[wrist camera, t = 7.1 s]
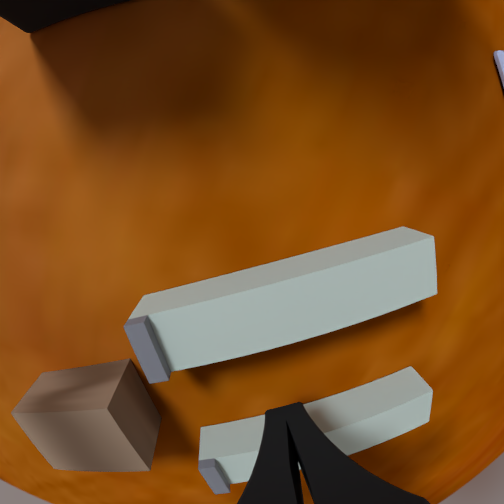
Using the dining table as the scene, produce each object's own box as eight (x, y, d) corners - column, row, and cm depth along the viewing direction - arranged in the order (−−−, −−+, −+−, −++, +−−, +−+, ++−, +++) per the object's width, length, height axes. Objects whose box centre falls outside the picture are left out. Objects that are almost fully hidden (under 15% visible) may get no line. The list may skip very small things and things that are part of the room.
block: (130, 357, 14) (106, 408, 10) (161, 416, 15) (150, 470, 11) (43, 371, 14) (11, 412, 10) (76, 424, 15) (54, 468, 11)
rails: (403, 226, 13) (442, 239, 10) (409, 396, 16) (433, 427, 13) (143, 295, 13) (123, 326, 10) (215, 454, 16) (215, 494, 13)
